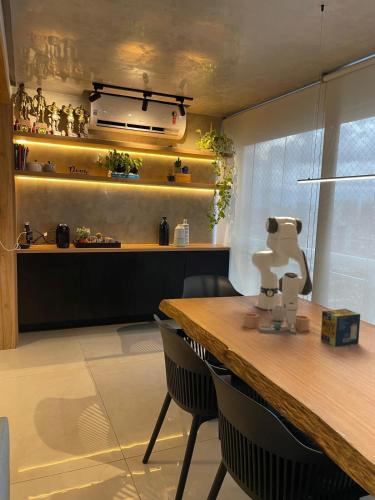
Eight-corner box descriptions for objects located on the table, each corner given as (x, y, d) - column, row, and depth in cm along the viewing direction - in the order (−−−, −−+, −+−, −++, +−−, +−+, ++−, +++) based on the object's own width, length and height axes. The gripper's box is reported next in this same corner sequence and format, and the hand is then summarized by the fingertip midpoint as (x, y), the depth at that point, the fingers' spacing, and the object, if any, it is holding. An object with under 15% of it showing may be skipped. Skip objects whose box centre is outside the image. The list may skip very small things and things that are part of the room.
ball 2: (284, 328, 206) (284, 321, 205) (291, 329, 205) (291, 322, 205) (285, 330, 202) (285, 323, 201) (292, 331, 201) (293, 324, 201)
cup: (265, 320, 226) (266, 307, 225) (269, 316, 233) (269, 304, 232) (283, 322, 221) (284, 309, 220) (286, 319, 228) (287, 306, 227)
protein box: (320, 340, 191) (321, 310, 189) (343, 337, 196) (345, 308, 195) (334, 347, 181) (336, 316, 179) (359, 343, 186) (361, 313, 185)
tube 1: (243, 323, 218) (243, 312, 217) (258, 324, 217) (258, 313, 216) (243, 327, 209) (243, 316, 209) (259, 328, 208) (259, 317, 208)
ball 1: (273, 328, 206) (273, 321, 206) (280, 328, 206) (280, 321, 206) (273, 330, 202) (274, 323, 202) (281, 330, 202) (281, 323, 202)
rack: (260, 332, 202) (260, 329, 201) (259, 328, 209) (259, 325, 209) (296, 334, 199) (296, 331, 199) (293, 329, 207) (293, 327, 207)
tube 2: (292, 326, 214) (292, 314, 214) (307, 326, 213) (308, 315, 213) (294, 330, 206) (295, 319, 205) (310, 331, 205) (311, 319, 204)
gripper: (281, 298, 213) (280, 321, 214) (286, 307, 192) (285, 333, 194) (292, 298, 212) (291, 322, 213) (298, 307, 192) (297, 333, 193)
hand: (288, 327), depth 203 cm, fingers closed on ball 2, 4 cm apart
